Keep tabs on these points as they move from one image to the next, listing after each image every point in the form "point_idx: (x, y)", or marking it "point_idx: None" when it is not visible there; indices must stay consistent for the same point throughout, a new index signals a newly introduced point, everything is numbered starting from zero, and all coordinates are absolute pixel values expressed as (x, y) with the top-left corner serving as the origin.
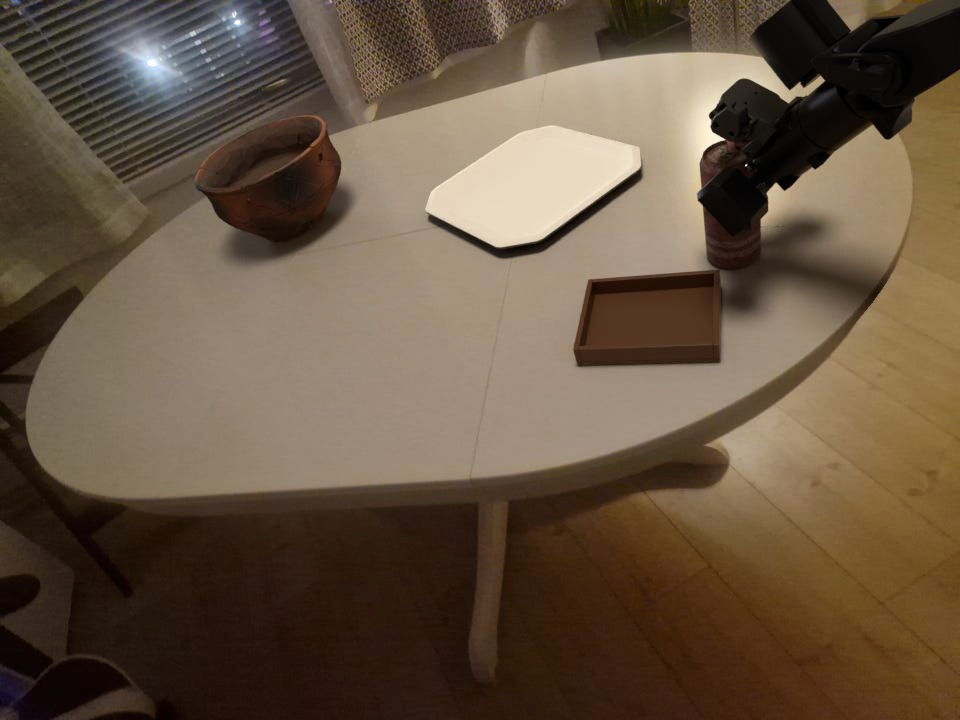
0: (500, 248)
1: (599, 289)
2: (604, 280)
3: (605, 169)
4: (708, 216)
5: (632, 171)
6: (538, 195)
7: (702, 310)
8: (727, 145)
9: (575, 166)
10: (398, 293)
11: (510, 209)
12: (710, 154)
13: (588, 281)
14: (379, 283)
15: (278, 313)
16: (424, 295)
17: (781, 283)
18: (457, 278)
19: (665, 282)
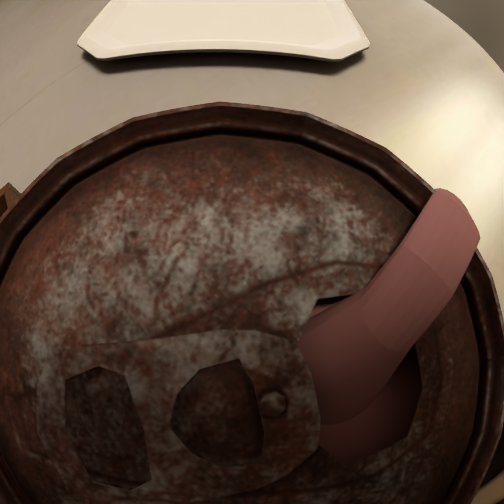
0: (77, 44)
1: None
2: (8, 207)
3: (305, 31)
4: None
5: (320, 54)
6: (206, 8)
7: None
8: (391, 250)
9: (286, 9)
10: (21, 47)
11: (164, 6)
12: (150, 195)
13: (4, 186)
14: (34, 29)
15: (3, 26)
16: (17, 61)
17: None
18: (43, 57)
19: None
